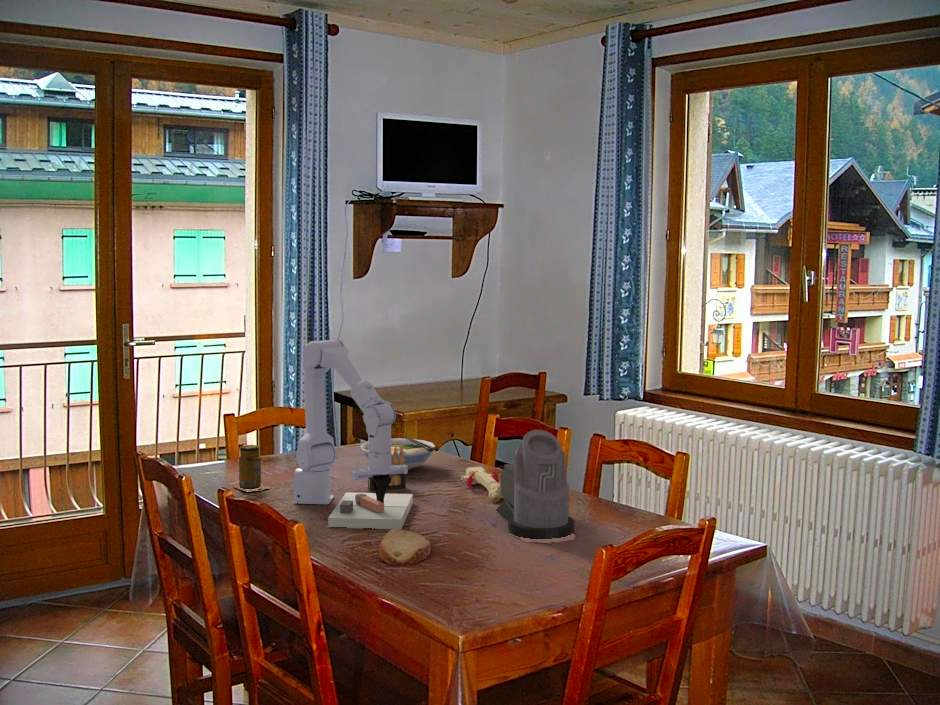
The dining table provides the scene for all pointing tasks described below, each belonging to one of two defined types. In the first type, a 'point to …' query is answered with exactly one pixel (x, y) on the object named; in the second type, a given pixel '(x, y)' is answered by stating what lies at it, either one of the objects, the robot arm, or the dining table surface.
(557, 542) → the dining table surface
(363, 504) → the bar
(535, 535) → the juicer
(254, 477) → the condiment
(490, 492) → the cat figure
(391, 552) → the bread slice
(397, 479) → the ammunition clip
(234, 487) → the dining table surface
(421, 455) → the ramen bowl
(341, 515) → the pale square platform
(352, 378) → the robot arm
